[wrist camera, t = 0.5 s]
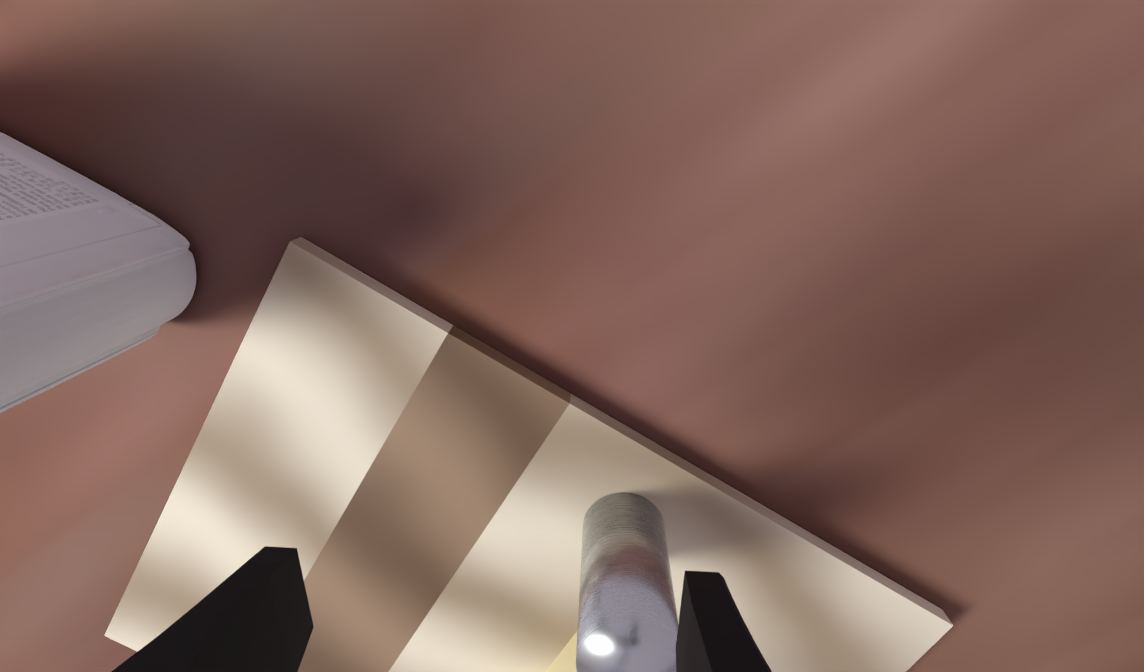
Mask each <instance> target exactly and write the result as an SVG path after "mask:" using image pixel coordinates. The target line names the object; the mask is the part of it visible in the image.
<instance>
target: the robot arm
mask: <svg viewBox="0 0 1144 672" xmlns="http://www.w3.org/2000/svg"><path fill="white" fill-rule="evenodd" d="M313 627H314V626H313V621H312V616H311V612H310V607H309V602H308V598H307V593H306V588H305V584H304V579H303V575H302V570H301V565H300V561H299V556H298V551H297V548H286V547H269V546H265V547H264V548H263V549H261V550H260V551H259V552H258V553H256V554H255V555H254V556H253V557H252V558H250V559H249V560H248V561H247V562H246V563H244V564H243V565H242V566H241V567H240V568H239V569H237V570H236V571H235V572H234V573H233V574H232V575H230V576H229V577H228V578H227V579H226V580H224V581H223V582H222V583H221V584H220V585H219V586H217V587H216V588H215V589H214V590H213V591H212V592H210V593H209V594H208V595H207V596H206V597H204V598H203V599H202V600H201V601H200V602H199V603H197V604H196V605H195V606H194V607H193V608H191V609H190V610H189V611H188V612H187V613H185V614H184V615H183V616H182V617H180V618H179V619H178V620H177V621H176V622H174V623H173V624H172V625H171V626H170V627H168V628H167V629H166V630H165V631H163V632H162V633H161V634H160V635H159V636H157V637H156V638H155V639H153V640H152V641H151V642H150V643H148V644H147V645H146V646H144V647H143V648H142V649H140V650H139V651H138V652H137V653H135V654H134V655H133V656H131V657H130V658H129V659H127V660H126V661H125V662H124V663H122V664H121V665H120V666H118V667H117V668H116V669H114V670H113V671H112V672H298V669H299V666H300V664H301V661H302V658H303V656H304V653H305V650H306V647H307V644H308V641H309V639H310V636H311V633H312V630H313ZM675 651H676V671H677V672H772V671H771V669H770V667H769V666H768V664H767V662H766V661H765V659H764V657H763V655H762V654H761V652H760V650H759V648H758V646H757V645H756V643H755V641H754V639H753V637H752V635H751V633H750V632H749V630H748V628H747V626H746V624H745V622H744V620H743V618H742V616H741V614H740V612H739V610H738V608H737V606H736V604H735V602H734V599H733V597H732V595H731V593H730V591H729V588H728V586H727V584H726V581H725V579H724V577H723V576H722V575H721V574H720V573H719V572H704V571H686V570H685V573H684V581H683V590H682V598H681V607H680V615H679V624H678V632H677V641H676V649H675Z"/></svg>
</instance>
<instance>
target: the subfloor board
mask: <svg viewBox="0 0 1144 672" xmlns="http://www.w3.org/2000/svg"><path fill="white" fill-rule="evenodd" d="M619 492H627V493H633V494H637V495H640V496H642V497H644V498H646V499H648V500H649V501H651V502H652V503H653V504H654V505H655V506H656V507H657V508H658V510H659V511H660V513H661V515H662V518H663V522H664V529H665V535H666V542H667V549H668V556H669V563H670V570H671V577H672V584H673V591H674V597H675V604H676V611H677V618H678V624H679V615H680V607H681V598H682V590H683V581H684V573H685V570H686V571H704V572H719V573H720V574H721V575H722V576H723V577H724V579H725V581H726V584H727V586H728V588H729V591H730V593H731V595H732V597H733V599H734V602H735V604H736V606H737V608H738V610H739V612H740V614H741V616H742V618H743V620H744V622H745V624H746V626H747V628H748V630H749V632H750V633H751V635H752V637H753V639H754V641H755V643H756V645H757V646H758V648H759V650H760V652H761V654H762V655H763V657H764V659H765V661H766V662H767V664H768V666H769V667H770V669H771V671H772V672H906V671H907V670H908V669H909V668H910V667H911V666H912V665H913V664H914V663H915V662H916V661H917V660H918V659H920V658H921V657H922V656H923V655H924V654H925V653H926V652H927V651H928V650H929V649H930V648H931V647H932V646H933V645H934V644H935V643H936V642H937V641H938V640H939V639H940V638H941V637H942V636H943V635H944V634H945V633H946V632H947V631H948V630H949V629H950V628H951V627H952V626H953V624H952V623H951V621H950V620H949V619H948V617H947V616H946V614H945V613H944V611H943V610H942V609H940V608H939V607H937V606H935V605H934V604H932V603H930V602H928V601H927V600H925V599H923V598H922V597H920V596H918V595H916V594H915V593H913V592H911V591H909V590H908V589H906V588H904V587H903V586H901V585H899V584H897V583H896V582H894V581H892V580H891V579H889V578H887V577H885V576H884V575H882V574H880V573H879V572H877V571H875V570H873V569H872V568H870V567H868V566H866V565H865V564H863V563H861V562H860V561H858V560H856V559H854V558H853V557H851V556H849V555H848V554H846V553H844V552H842V551H841V550H839V549H837V548H836V547H834V546H832V545H830V544H829V543H827V542H825V541H824V540H822V539H820V538H818V537H817V536H815V535H813V534H811V533H810V532H808V531H806V530H805V529H803V528H801V527H799V526H798V525H796V524H794V523H793V522H791V521H789V520H787V519H786V518H784V517H782V516H781V515H779V514H777V513H775V512H774V511H772V510H770V509H768V508H767V507H765V506H763V505H762V504H760V503H758V502H756V501H755V500H753V499H751V498H750V497H748V496H746V495H744V494H743V493H741V492H739V491H738V490H736V489H734V488H732V487H731V486H729V485H727V484H725V483H724V482H722V481H720V480H719V479H717V478H715V477H713V476H712V475H710V474H708V473H707V472H705V471H703V470H701V469H700V468H698V467H696V466H695V465H693V464H691V463H689V462H688V461H686V460H684V459H682V458H681V457H679V456H677V455H676V454H674V453H672V452H670V451H669V450H667V449H665V448H664V447H662V446H660V445H658V444H657V443H655V442H653V441H652V440H650V439H648V438H646V437H645V436H643V435H641V434H639V433H638V432H636V431H634V430H633V429H631V428H629V427H627V426H626V425H624V424H622V423H621V422H619V421H617V420H615V419H614V418H612V417H610V416H609V415H607V414H605V413H603V412H602V411H600V410H598V409H596V408H595V407H593V406H591V405H590V404H588V403H586V402H584V401H583V400H581V399H579V398H578V397H576V396H574V395H572V394H571V393H569V392H567V391H566V390H564V389H562V388H560V387H559V386H557V385H555V384H553V383H552V382H550V381H548V380H547V379H545V378H543V377H541V376H540V375H538V374H536V373H535V372H533V371H531V370H529V369H528V368H526V367H524V366H523V365H521V364H519V363H517V362H516V361H514V360H512V359H510V358H509V357H507V356H505V355H504V354H502V353H500V352H498V351H497V350H495V349H493V348H492V347H490V346H488V345H486V344H485V343H483V342H481V341H480V340H478V339H476V338H474V337H473V336H471V335H469V334H467V333H466V332H464V331H462V330H461V329H459V328H457V327H455V326H454V325H452V324H450V323H449V322H447V321H445V320H443V319H442V318H440V317H438V316H437V315H435V314H433V313H431V312H430V311H428V310H426V309H425V308H423V307H421V306H419V305H418V304H416V303H414V302H412V301H411V300H409V299H407V298H406V297H404V296H402V295H400V294H399V293H397V292H395V291H394V290H392V289H390V288H388V287H387V286H385V285H383V284H382V283H380V282H378V281H376V280H375V279H373V278H371V277H369V276H368V275H366V274H364V273H363V272H361V271H359V270H357V269H356V268H354V267H352V266H351V265H349V264H347V263H345V262H344V261H342V260H340V259H339V258H337V257H335V256H333V255H332V254H330V253H328V252H326V251H325V250H323V249H321V248H320V247H318V246H316V245H314V244H313V243H311V242H309V241H308V240H306V239H304V238H302V237H299V238H297V239H294V240H292V241H290V242H289V244H288V246H287V248H286V250H285V252H284V254H283V257H282V259H281V261H280V263H279V265H278V267H277V269H276V271H275V274H274V276H273V278H272V280H271V282H270V284H269V286H268V288H267V291H266V293H265V295H264V297H263V299H262V301H261V303H260V306H259V308H258V310H257V312H256V314H255V316H254V318H253V320H252V323H251V325H250V327H249V329H248V331H247V333H246V335H245V337H244V340H243V342H242V344H241V346H240V348H239V350H238V352H237V354H236V357H235V359H234V361H233V363H232V365H231V367H230V369H229V371H228V374H227V376H226V378H225V380H224V382H223V384H222V386H221V389H220V391H219V393H218V395H217V397H216V399H215V401H214V403H213V406H212V408H211V410H210V412H209V414H208V416H207V418H206V420H205V423H204V425H203V427H202V429H201V431H200V433H199V435H198V437H197V440H196V442H195V444H194V446H193V448H192V450H191V452H190V454H189V457H188V459H187V461H186V463H185V465H184V467H183V469H182V472H181V474H180V476H179V478H178V480H177V482H176V484H175V486H174V489H173V491H172V493H171V495H170V497H169V499H168V501H167V503H166V506H165V508H164V510H163V512H162V514H161V516H160V518H159V520H158V523H157V525H156V527H155V529H154V531H153V533H152V535H151V537H150V540H149V542H148V544H147V546H146V548H145V550H144V552H143V555H142V557H141V559H140V561H139V563H138V565H137V567H136V569H135V572H134V574H133V576H132V578H131V580H130V582H129V584H128V586H127V589H126V591H125V593H124V595H123V597H122V599H121V601H120V603H119V606H118V608H117V610H116V612H115V614H114V616H113V618H112V620H111V623H110V625H109V627H108V629H107V631H106V633H105V635H104V636H106V637H108V638H110V639H112V640H114V641H116V642H119V643H121V644H123V645H125V646H127V647H129V648H131V649H133V650H135V651H139V650H140V649H142V648H143V647H144V646H146V645H147V644H148V643H150V642H151V641H152V640H153V639H155V638H156V637H157V636H159V635H160V634H161V633H162V632H163V631H165V630H166V629H167V628H168V627H170V626H171V625H172V624H173V623H174V622H176V621H177V620H178V619H179V618H180V617H182V616H183V615H184V614H185V613H187V612H188V611H189V610H190V609H191V608H193V607H194V606H195V605H196V604H197V603H199V602H200V601H201V600H202V599H203V598H204V597H206V596H207V595H208V594H209V593H210V592H212V591H213V590H214V589H215V588H216V587H217V586H219V585H220V584H221V583H222V582H223V581H224V580H226V579H227V578H228V577H229V576H230V575H232V574H233V573H234V572H235V571H236V570H237V569H239V568H240V567H241V566H242V565H243V564H244V563H246V562H247V561H248V560H249V559H250V558H252V557H253V556H254V555H255V554H256V553H258V552H259V551H260V550H261V549H263V548H264V547H265V546H269V547H286V548H297V551H298V556H299V561H300V565H301V570H302V575H303V579H304V584H305V588H306V593H307V598H308V602H309V607H310V612H311V616H312V621H313V626H314V627H313V630H312V633H311V636H310V639H309V641H308V644H307V647H306V650H305V653H304V656H303V658H302V661H301V664H300V666H299V669H298V672H545V671H546V670H547V669H548V668H549V666H550V665H551V664H552V663H553V661H554V660H555V659H556V657H557V656H558V655H559V654H560V652H561V651H562V650H563V648H564V647H565V646H566V645H567V643H568V642H569V641H570V640H571V638H572V637H573V636H574V634H575V633H576V632H577V630H578V610H579V590H580V570H581V551H582V531H583V520H584V517H585V514H586V512H587V511H588V509H589V508H590V507H591V505H592V504H593V503H595V502H596V501H597V500H599V499H600V498H602V497H604V496H606V495H609V494H613V493H619Z"/></svg>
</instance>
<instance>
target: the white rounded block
mask: <svg viewBox="0 0 1144 672" xmlns="http://www.w3.org/2000/svg"><path fill="white" fill-rule="evenodd" d="M189 246H190V243H189V242H188V240H187V239H186V238H185V237H184V236H183V235H181V234H180V233H179V232H177V231H176V230H175V229H173V228H172V227H170V226H169V225H168V224H166V223H165V222H163V221H162V220H160V219H159V218H157V217H156V216H154V215H153V214H151V213H149V212H147V211H146V210H144V209H142V208H141V207H139V206H137V205H135V204H133V203H132V202H130V201H128V200H126V199H124V198H123V197H121V196H119V195H118V194H116V193H114V192H112V191H110V190H108V189H107V188H105V187H103V186H101V185H99V184H97V183H95V182H94V181H92V180H90V179H88V178H87V177H85V176H83V175H81V174H79V173H77V172H75V171H73V170H72V169H70V168H68V167H66V166H64V165H62V164H60V163H58V162H57V161H55V160H53V159H51V158H49V157H47V156H45V155H44V154H42V153H40V152H38V151H36V150H34V149H32V148H30V147H28V146H26V145H24V144H23V143H21V142H19V141H17V140H15V139H13V138H11V137H10V136H8V135H6V134H4V133H1V132H0V413H2V412H4V411H6V410H8V409H9V408H11V407H14V406H16V405H18V404H20V403H22V402H24V401H26V400H28V399H30V398H32V397H34V396H36V395H38V394H40V393H42V392H44V391H46V390H48V389H50V388H52V387H54V386H56V385H58V384H60V383H62V382H64V381H67V380H69V379H71V378H73V377H75V376H77V375H79V374H81V373H83V372H85V371H87V370H89V369H91V368H93V367H95V366H97V365H99V364H101V363H103V362H105V361H107V360H109V359H111V358H113V357H115V356H117V355H119V354H121V353H123V352H125V351H126V350H128V349H130V348H132V347H134V346H136V345H138V344H141V343H142V342H144V341H146V340H148V339H149V338H151V337H152V336H154V335H155V334H156V333H158V332H159V330H160V326H161V324H163V323H165V322H167V321H169V320H171V319H173V318H175V317H177V316H178V315H179V314H180V313H182V312H183V311H184V310H185V308H186V307H187V306H188V304H189V303H190V301H191V299H192V297H193V294H194V291H195V286H196V265H195V261H194V257H193V254H192V253H191V252H190V251H189V250H188V248H189Z"/></svg>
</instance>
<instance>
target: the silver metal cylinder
mask: <svg viewBox="0 0 1144 672" xmlns="http://www.w3.org/2000/svg"><path fill="white" fill-rule="evenodd" d="M677 632H678V618H677V611H676V604H675V597H674V591H673V584H672V577H671V570H670V563H669V556H668V549H667V542H666V535H665V529H664V522H663V518H662V515H661V513H660V511H659V510H658V508H657V507H656V506H655V505H654V504H653V503H652V502H651V501H649V500H648V499H646V498H644V497H642V496H640V495H637V494H633V493H627V492H619V493H613V494H609V495H606V496H604V497H602V498H600V499H599V500H597V501H596V502H595V503H593V504H592V505H591V507H590V508H589V509H588V511H587V512H586V514H585V517H584V520H583V531H582V551H581V570H580V590H579V610H578V630H577V649H576V669H577V672H677V671H676V651H675V649H676V641H677Z"/></svg>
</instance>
